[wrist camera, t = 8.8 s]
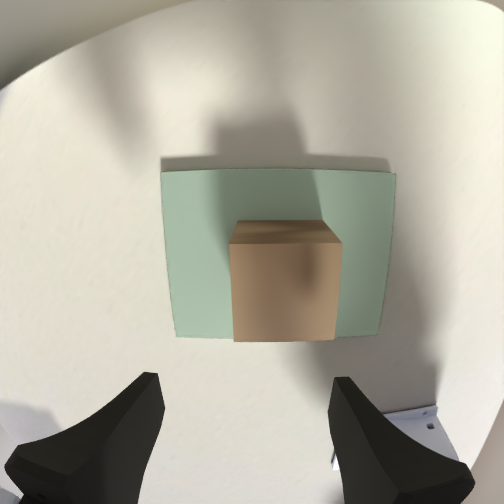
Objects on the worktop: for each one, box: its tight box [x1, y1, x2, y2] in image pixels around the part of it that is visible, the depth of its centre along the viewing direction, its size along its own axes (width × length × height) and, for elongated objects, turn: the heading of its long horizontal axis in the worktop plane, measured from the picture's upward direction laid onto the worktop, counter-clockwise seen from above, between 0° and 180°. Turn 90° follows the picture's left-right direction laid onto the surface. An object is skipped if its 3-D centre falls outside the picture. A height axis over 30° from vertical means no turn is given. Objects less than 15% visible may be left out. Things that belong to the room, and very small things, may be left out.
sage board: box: [161, 168, 396, 339], centre depth 20 cm, size 14×11×1 cm
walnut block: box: [229, 220, 343, 342], centre depth 17 cm, size 5×5×5 cm
